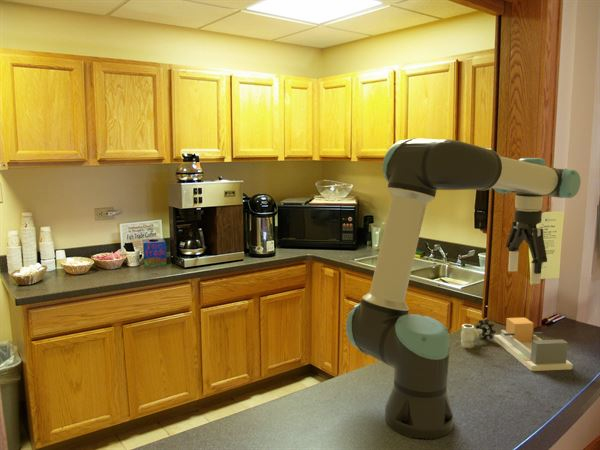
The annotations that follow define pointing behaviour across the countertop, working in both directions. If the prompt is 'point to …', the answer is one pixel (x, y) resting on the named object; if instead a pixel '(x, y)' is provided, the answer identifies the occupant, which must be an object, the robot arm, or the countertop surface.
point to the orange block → (520, 329)
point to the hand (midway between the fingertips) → (523, 277)
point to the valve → (475, 333)
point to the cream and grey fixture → (537, 352)
